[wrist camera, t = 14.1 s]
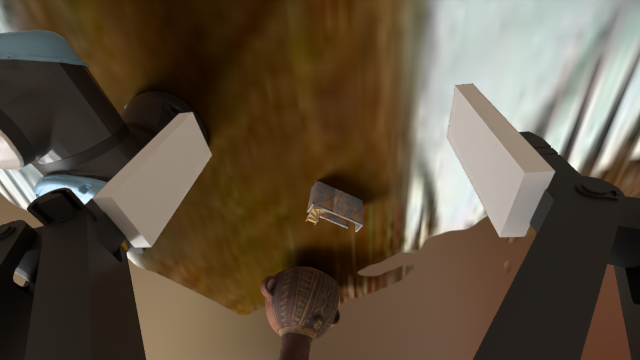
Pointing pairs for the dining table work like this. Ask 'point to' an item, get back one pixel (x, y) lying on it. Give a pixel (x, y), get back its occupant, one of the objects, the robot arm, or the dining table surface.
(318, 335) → the vase
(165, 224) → the robot arm
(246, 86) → the dining table surface
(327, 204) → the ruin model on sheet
